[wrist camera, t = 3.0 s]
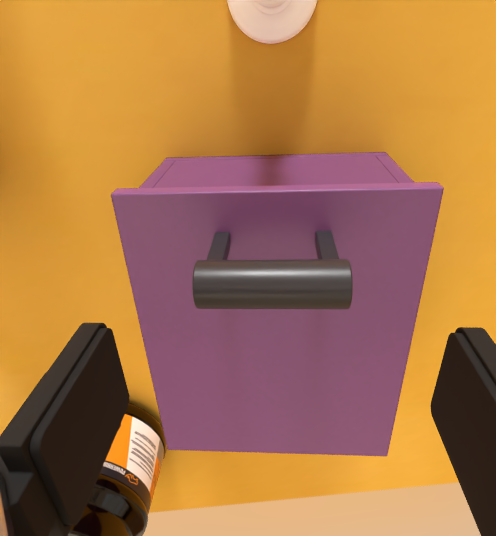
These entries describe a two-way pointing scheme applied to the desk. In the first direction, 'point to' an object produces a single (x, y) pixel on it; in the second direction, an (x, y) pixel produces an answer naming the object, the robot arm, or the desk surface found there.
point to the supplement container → (126, 479)
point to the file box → (277, 170)
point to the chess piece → (271, 18)
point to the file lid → (278, 309)
